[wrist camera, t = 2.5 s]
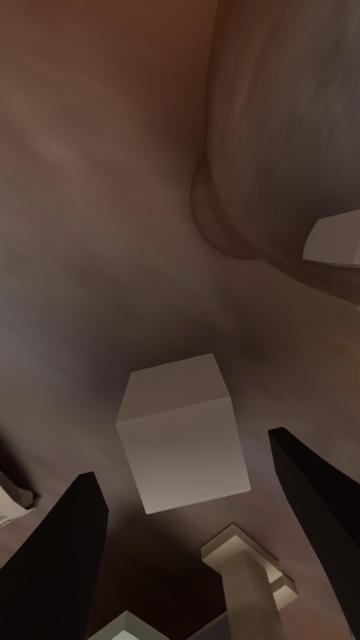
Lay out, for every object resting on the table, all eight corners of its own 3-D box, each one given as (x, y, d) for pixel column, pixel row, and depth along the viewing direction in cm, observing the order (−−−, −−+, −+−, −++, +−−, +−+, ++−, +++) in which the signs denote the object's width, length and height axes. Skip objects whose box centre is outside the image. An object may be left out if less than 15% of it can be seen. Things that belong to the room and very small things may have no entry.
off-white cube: (212, 352, 16) (230, 396, 11) (228, 423, 17) (251, 490, 13) (131, 371, 16) (115, 423, 12) (153, 441, 18) (146, 514, 13)
